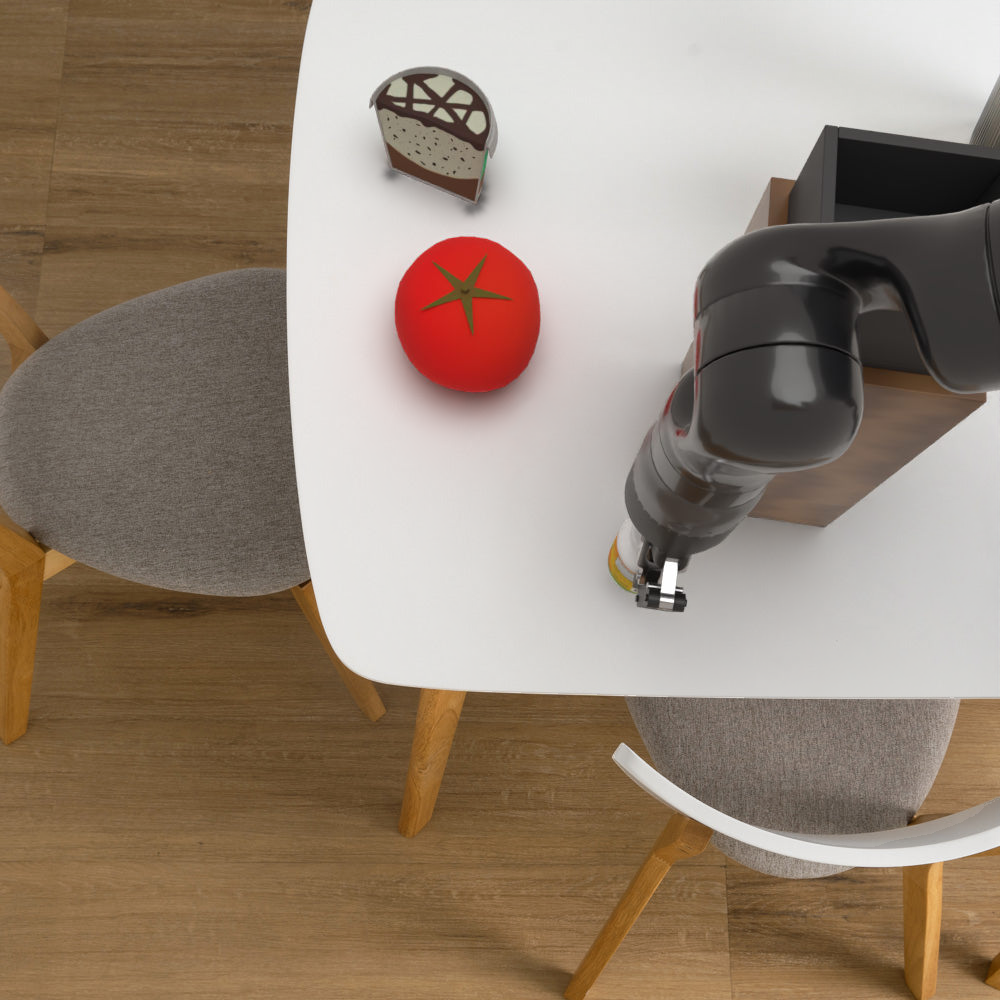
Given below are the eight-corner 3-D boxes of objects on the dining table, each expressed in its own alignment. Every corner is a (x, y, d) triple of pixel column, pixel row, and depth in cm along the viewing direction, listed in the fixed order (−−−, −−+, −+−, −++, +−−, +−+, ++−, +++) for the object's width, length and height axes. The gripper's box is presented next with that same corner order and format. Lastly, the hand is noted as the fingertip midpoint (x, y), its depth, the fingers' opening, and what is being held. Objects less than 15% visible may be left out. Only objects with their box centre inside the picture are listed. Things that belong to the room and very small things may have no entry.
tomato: (393, 278, 91) (383, 215, 82) (527, 269, 92) (534, 204, 82) (404, 418, 87) (395, 369, 77) (544, 407, 88) (554, 356, 78)
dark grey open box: (966, 219, 62) (1024, 151, 56) (967, 381, 59) (1028, 329, 53) (788, 194, 63) (825, 123, 56) (778, 354, 59) (816, 299, 53)
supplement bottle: (637, 519, 80) (657, 482, 71) (686, 564, 79) (712, 532, 70) (592, 563, 79) (607, 531, 70) (641, 610, 78) (662, 583, 69)
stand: (831, 384, 90) (985, 205, 63) (825, 527, 85) (987, 402, 59) (682, 362, 90) (771, 176, 63) (668, 504, 86) (758, 369, 59)
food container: (516, 162, 96) (521, 91, 86) (490, 210, 94) (492, 143, 84) (404, 116, 97) (397, 41, 88) (376, 163, 95) (366, 92, 86)
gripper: (751, 601, 55) (691, 647, 72) (766, 375, 60) (706, 466, 76) (621, 583, 56) (590, 632, 72) (645, 358, 60) (611, 453, 76)
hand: (650, 546), depth 74 cm, fingers closed on supplement bottle, 5 cm apart
